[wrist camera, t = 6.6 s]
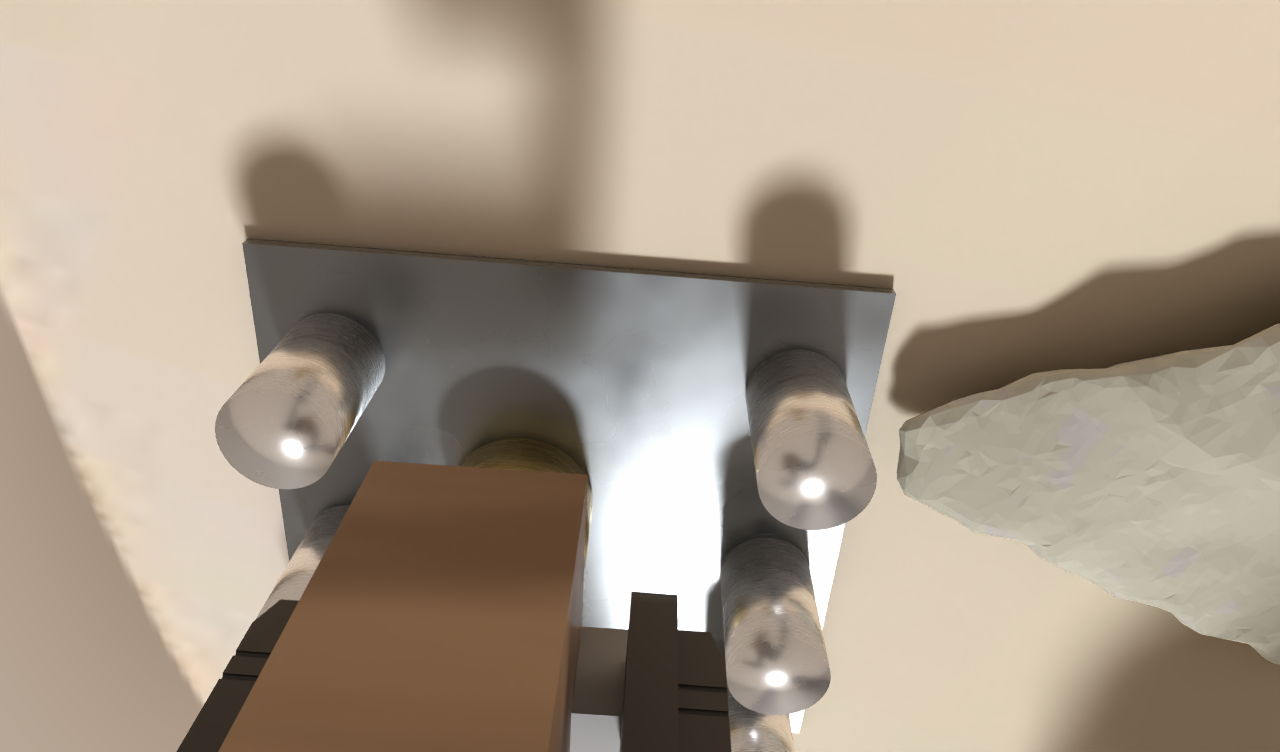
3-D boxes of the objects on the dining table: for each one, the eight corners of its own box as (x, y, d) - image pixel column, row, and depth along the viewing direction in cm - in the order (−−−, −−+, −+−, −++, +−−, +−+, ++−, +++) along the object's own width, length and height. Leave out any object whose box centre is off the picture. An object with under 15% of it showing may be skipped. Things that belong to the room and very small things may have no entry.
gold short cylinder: (450, 431, 24) (428, 483, 22) (597, 444, 24) (590, 498, 22) (452, 548, 26) (432, 607, 24) (589, 560, 26) (581, 620, 24)
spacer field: (247, 239, 22) (159, 309, 18) (892, 289, 22) (937, 370, 18) (312, 687, 30) (258, 804, 26) (798, 725, 30) (816, 847, 26)
